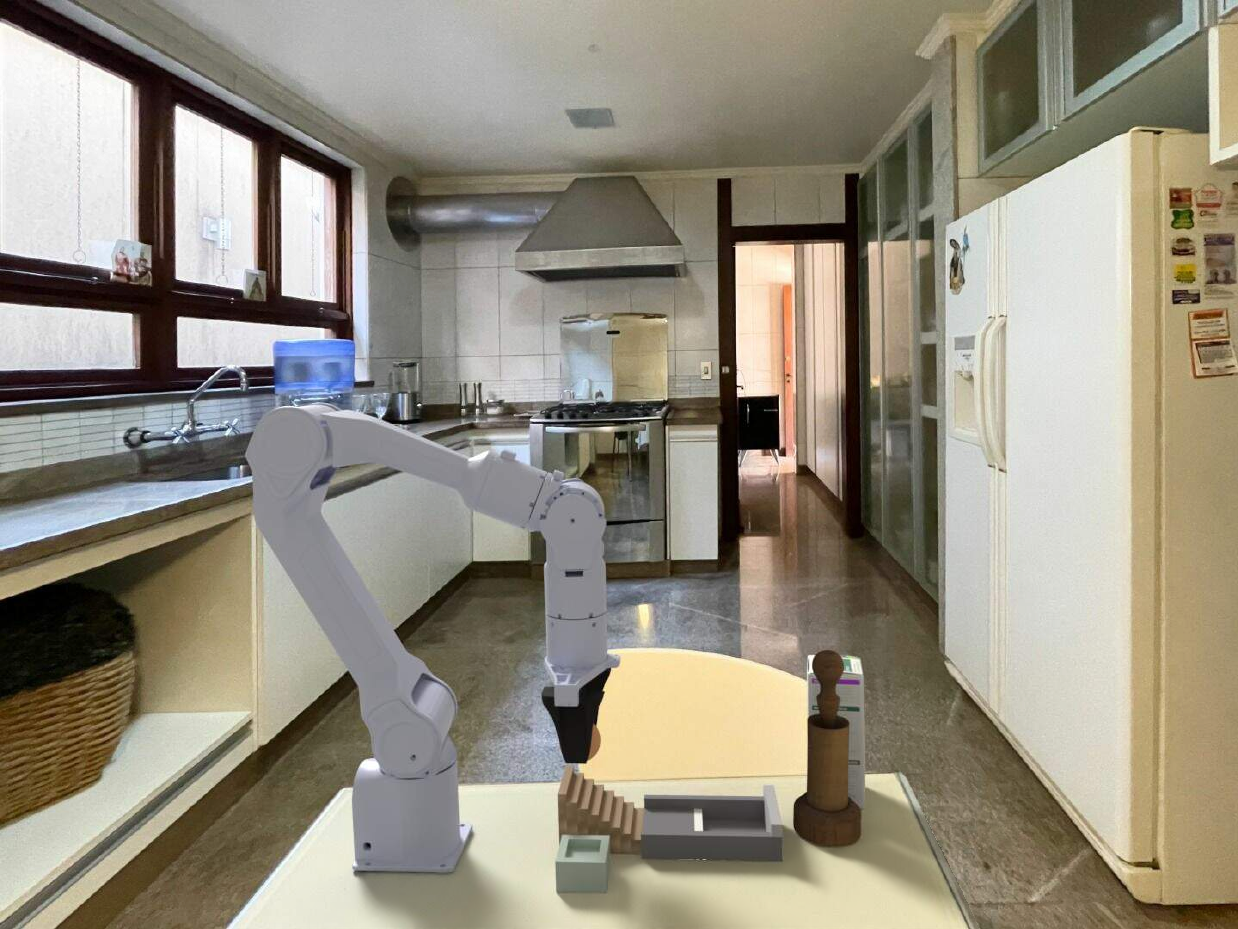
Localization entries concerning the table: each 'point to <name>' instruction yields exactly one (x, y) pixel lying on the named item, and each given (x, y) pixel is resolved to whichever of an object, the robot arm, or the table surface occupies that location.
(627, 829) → the staircase
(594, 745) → the ball
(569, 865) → the hollow square container
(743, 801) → the lane
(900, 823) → the table surface
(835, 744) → the mortar and pestle
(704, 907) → the table surface
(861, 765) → the syrup box
